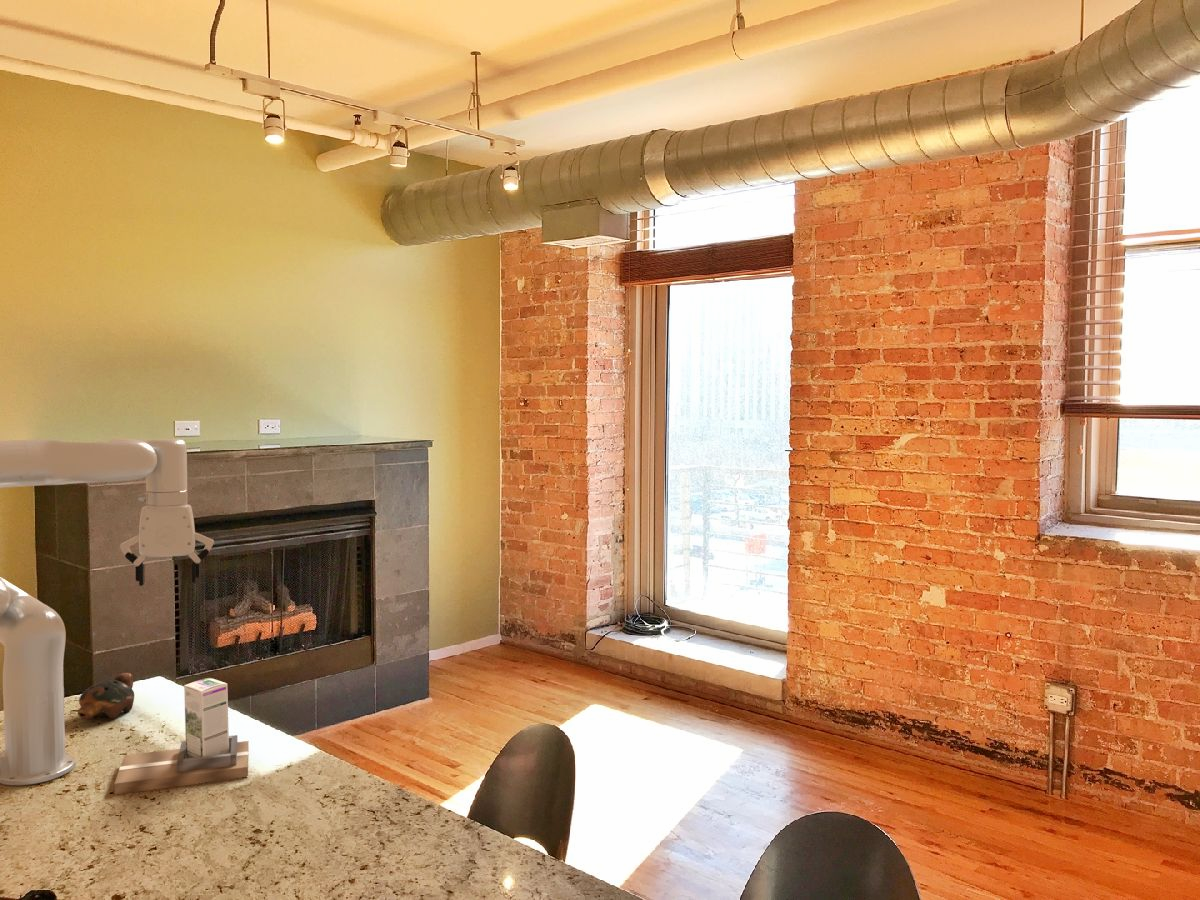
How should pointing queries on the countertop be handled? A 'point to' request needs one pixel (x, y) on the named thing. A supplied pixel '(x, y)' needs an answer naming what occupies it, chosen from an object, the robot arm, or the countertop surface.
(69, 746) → the countertop surface
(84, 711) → the decorative turtle
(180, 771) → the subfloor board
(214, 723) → the syrup box
